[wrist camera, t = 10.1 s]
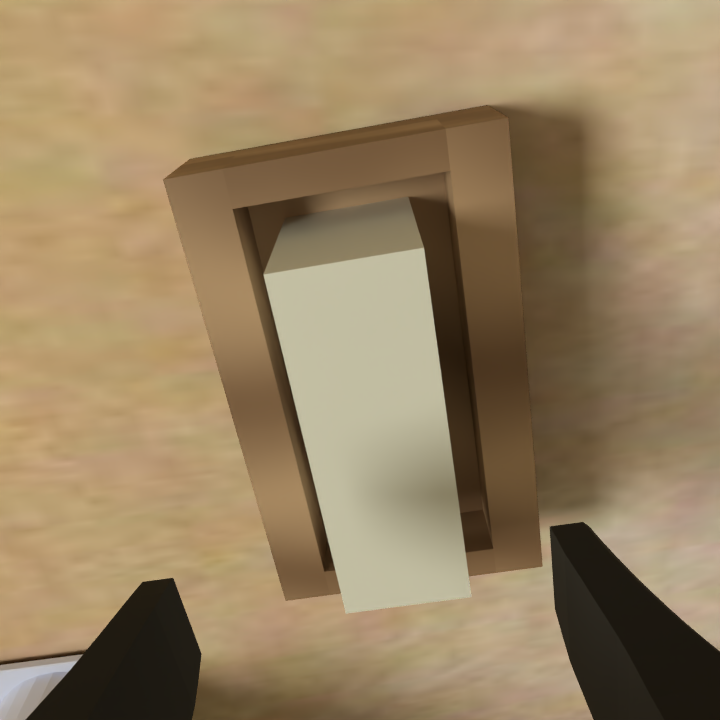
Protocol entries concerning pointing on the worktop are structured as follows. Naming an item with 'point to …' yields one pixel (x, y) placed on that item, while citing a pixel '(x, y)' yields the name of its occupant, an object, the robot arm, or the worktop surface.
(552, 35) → the worktop surface
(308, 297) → the white rectangular block
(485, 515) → the wooden tray
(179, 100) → the worktop surface
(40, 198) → the worktop surface
